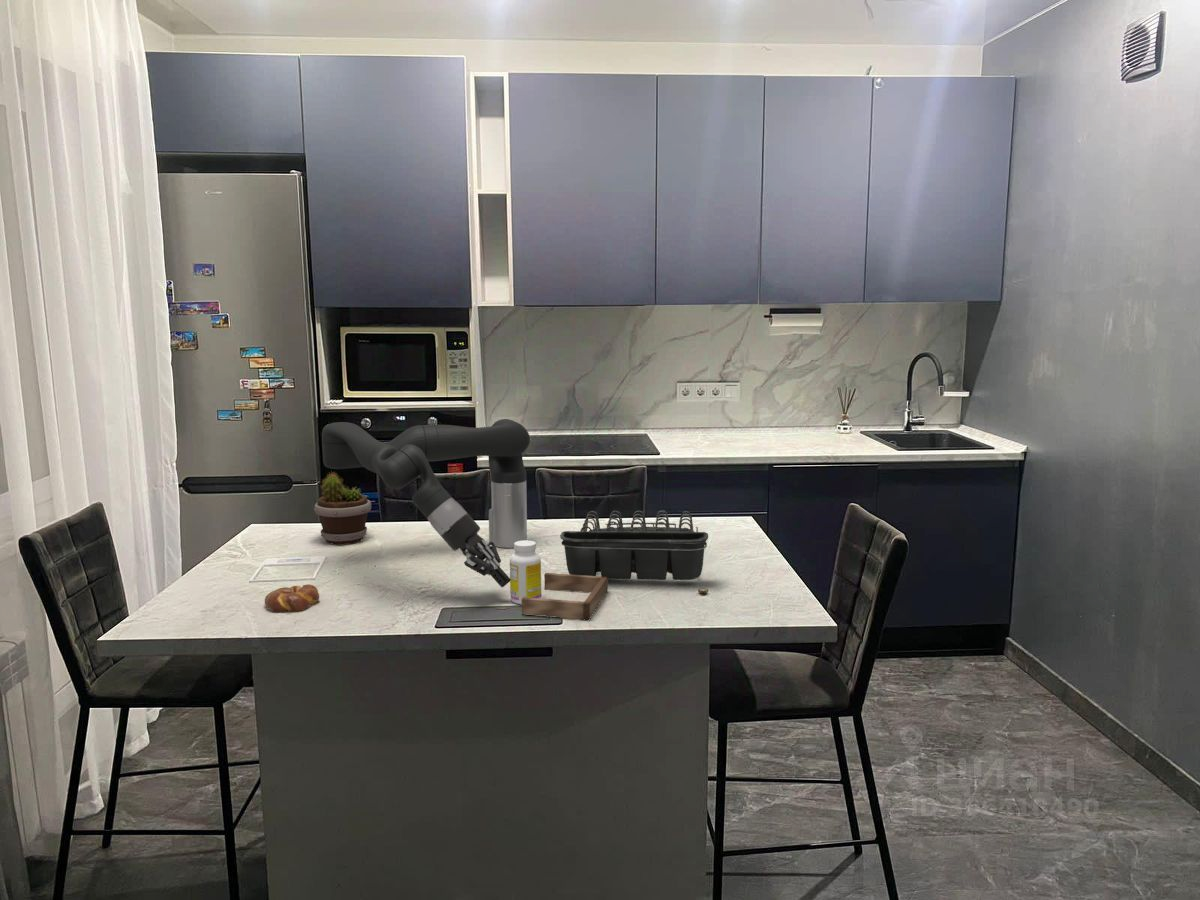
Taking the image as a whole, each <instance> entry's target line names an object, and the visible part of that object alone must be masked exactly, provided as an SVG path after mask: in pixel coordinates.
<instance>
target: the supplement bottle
mask: <svg viewBox="0 0 1200 900" xmlns="http://www.w3.org/2000/svg"><path fill="white" fill-rule="evenodd" d="M513 550H514V553H513V554H511V556H510V558H509V578H510V582H509V584H510V585H509V586H510V587H509V588H510V593H509V594H510V600H511V601H512V602H513V603H514V604H516V605H522V598H523V597H528V598H542V567H541V566H542V561H541V560H542V558H541V556H540V555H539V554H538V553H537V552H536V550H537V543H536V541H534V540H528V539H527V540H523V541H517V542H515V543H514V548H513Z"/></svg>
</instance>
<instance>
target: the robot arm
mask: <svg viewBox="0 0 1200 900" xmlns="http://www.w3.org/2000/svg"><path fill="white" fill-rule="evenodd" d="M530 442H531V436H530V434H529V431H528V429H527V428H526V427H525V426H524V425H522V423H519V422H517V421H515V420H512V419H509V418H502V419H498V420H497V421H495V422H493V424H492V425H491V426H484V427H482V426H481V427H469V426H461V425H452V424H424V425H423V424H422V425H421V424H420V425H419V424H418V425H414V426H411V427H409V428H407V429H405V430H404V431H402V432H401V433H399V434H398V435H397V436H396V437H394V438H393V439H391V440H390V441H388V442H387V443H385V442H382V441H379V440H377V439H376V438H374V437H373V436H372V435H371V434H369V433H368V432H367V431H366V430H364V429H363V428H362V427H361V426H359V425H357V424H355V423H351V422H347V421H346V422H345V421H339V422H338V421H337V422H332V423H328V424H326V425H325V426H324V427H323V428H322V432H321V445H322V449H321V451H322V462H323V466H324V467H326V468H328V469H332V470H333V469H334V470H347V469H354V468H355V469H356V468H365V469H366V470H368V471H370V472H372V473H374V474H377V475H378V476H379V477H380V478H381V480H382V482H383V483H384V484H385V485H386V486H387V487H388V488H390V489H391V490H401V489H403V488H405V487H407V485H409V484H410V483H412V482H413V481H414V480H416V479H417V478H418V477H420V479H421V485H420V486H419V487H418V489H417V490H416V491H415V492H414V494H413V495H412V497H411V501H412V503H413V504H414V505H415V507H416V509H418V510H419V511H420V513H421V514H422V515H423V516H424V517H425V518H426V520H427V521H428V522H429V524H430V525H431V527H432V528H433V529H434V530H435V531H436V533H437V534H438V535H440V537H441V538H442V539H443V541H445V543H446V544H447V545H448V546H449V547H450V548H451V550H452V551H454V552H455V551H458V550H460V552H462V554H463V556H464V557H466V560H465V561H464V562H463V564H464V566H466V568H469V569H471V570H473V571H475V572H476V573H478V574H480V575H482V576H486V575H487V576H489V577H492V579H494V581H495V582H496V583H497V584H498V585H499V587H500V588H504V587H505V586H506V585H508V584H510V576H508V575H507V573H506V572H505V571H504V570H503V569H502V568H501V564H500V563H501V562H502V559H501V557H500V555H499V553H498V549H497V547H498V548H506V549H512V548H513V549H514V543H515V542H517V541H523V540H528V522H527V521H528V520H527V519H528V513H527V512H528V509H527V507H528V505H527V500H528V499H527V498H528V496H527V470H526V468H525V465H524V462H523V460H524V459H523V453H525V451H526V450H527V449H528V447H529V446H530ZM471 457H472V458H473V457H488V467H489V472H490V479H491V481H490V483H491V484H490V486H491V508H490V509H488V542H489V543H488V542H486V541H485V539H484V538H483V537H481V536H480V535H479V534H478V533H479V531H481V527H480V526H479V524H478V523H477V522H476V521H475V520H474V519H473V518H472V516H471V515H470V514H469V513H468V512H467V511H466V510H465V508H464V507H463V506H462V504H460V503H459V502H457V500H455V499H454V498H453V496H451V494H450V493H449V492H448V491H447V490H446V489H445V488H444V487H443V485H442V484H441V483H440V481H439V480H438V478H437V475H435V472H434V471H433V469H432V467H431V465H430V462H439V461H449V460H450V461H451V460H456V459H464V458H471Z"/></svg>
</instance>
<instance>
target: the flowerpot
mask: <svg viewBox="0 0 1200 900" xmlns="http://www.w3.org/2000/svg"><path fill="white" fill-rule="evenodd" d="M330 471H331V473H330V472H329V474H327V475H326V478H324V479H323V480H322V481H321V482H320V483H322V485H321V487H320V488H321V493H320V494H321V495H322V496H321V497H319V498H318V499H317V502H316V503H315V504H314V508H313V509H314V510H313V512H314V514H316V515H318V518H319V522H320V525H321V528H322V529H321V530H320V537H321V538H322V539H323V540H324V541H325V542H326V543H327V544H330V545H337V546H339V545H340V546H341V545H342V546H343V545H353V544H358V543H359V542H361V541H363V539H364V538H365V536H366V535H367V532H368V531H367V530H368V527H367V526H366V524H367V523H366V522H367V519H368V513H369V512H370V511H372V510H371V509H372V502H371V500H369V499H367V496H366V495H365V494H362V493H361V488H357V486H355V487H353V488H351V489H350V488H349V487H350V486H346V485H345V484H343V479H342V477H341V476H339V477H340V478H339V477H338V474H337V472H336V471H333V472H332V470H330ZM356 488H357V489H356Z"/></svg>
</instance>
